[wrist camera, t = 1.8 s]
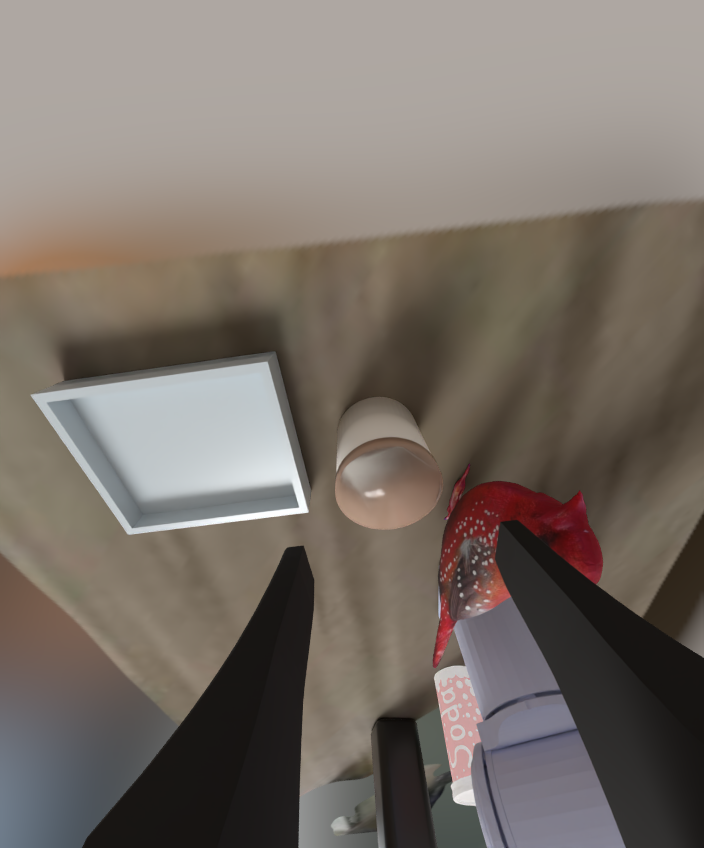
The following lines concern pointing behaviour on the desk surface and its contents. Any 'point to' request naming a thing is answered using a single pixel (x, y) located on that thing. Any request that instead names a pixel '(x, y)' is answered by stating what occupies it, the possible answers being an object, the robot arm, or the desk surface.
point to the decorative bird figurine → (477, 539)
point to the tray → (185, 442)
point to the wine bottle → (400, 786)
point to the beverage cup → (459, 727)
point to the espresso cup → (384, 466)
